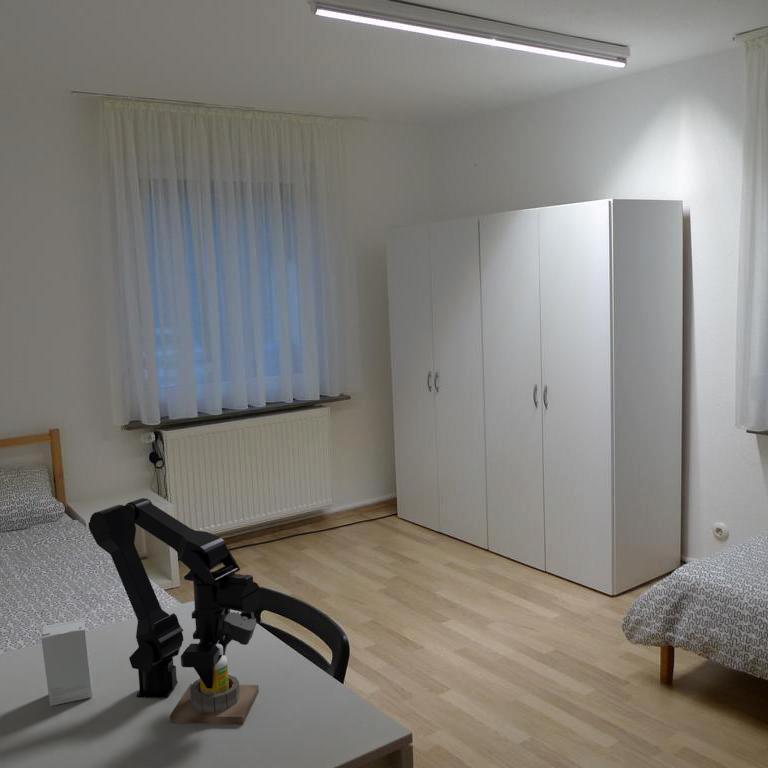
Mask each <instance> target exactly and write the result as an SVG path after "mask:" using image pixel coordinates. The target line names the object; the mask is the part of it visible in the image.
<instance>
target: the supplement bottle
mask: <svg viewBox="0 0 768 768" xmlns="http://www.w3.org/2000/svg"><path fill="white" fill-rule="evenodd" d="M216 646H217V647H218V648H219V655H222V657H221V658H220V660H219V662H218V663H217V664H215V671H214V681H213V687H212V688H206V686H205V685H204V683H203V681H202V680H201V678H200V677H199V679H200V690H201V693H202V694H218V693H222V692H225V691H227V690H228V689H229V681H228V675H229V667H228V658H227V656H226V655H225V656H224V655H223V646H222V645H221V644H217V645H216Z"/></svg>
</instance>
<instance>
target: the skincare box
mask: <svg viewBox="0 0 768 768" xmlns="http://www.w3.org/2000/svg"><path fill="white" fill-rule="evenodd" d="M85 622H86V621H85V618H80V619H75V620H71V621H66V622H60V623H53V624H50V625H48V624H47V625H43V626H42V631H41V632H42V633H41V638H40V640H41V645H42V646H41V647H42V653H43V661H44V662H43V664H44V669H45V670H44V671H45V676H46V683H47V692H48V700H49V706H50V707H52V706H56V705H58V706H59V705H61V704H67V703H72V702H75V701H76V702H77V701H81V700H85V699H90V698H92V697H93V681H92V672H91V671H92V670H91V664H90V654H89V646H88V636H87V629H86V623H85Z"/></svg>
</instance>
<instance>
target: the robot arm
mask: <svg viewBox="0 0 768 768" xmlns="http://www.w3.org/2000/svg"><path fill="white" fill-rule="evenodd" d="M136 525H137V526H138V527H140V528H141V529H142V530H144V531H146V532H147V533H149V534H150V535H151V536H153V537H155V538H156V539H158V540H160V541H161V542H162V543H164V544H166V546H168V547H170V548H172V549H173V550H174V551H175V552H176V553H177V554H178V558H179V560H180V562H181V563H182V564H184V565H185V567H187V569H189V570H190V571H189V572H188V573H187V574H185V575H183V579H184V581H188V582H189V581H190V582H193V600H194V602H193V603H194V604H193V605H194V610H193V611H192V612H191V619H192V620H194V619H195V630H194V632H192V639H193V640H199V642H198V643H190V644H189V645H188V646H187V647H186V649H184V651H183V652H182V654H181V655H180V664H181V665H180V666H181V667H182V668H193V669H194V670H195V672H196V674H197V675H198V677H199V679H200V678H201V680H202V681H203V683H204V685H205V686H206V688H212V687H213V681H214V671H215V664H217V663H218V662H219V660H220V658H221V657H222V655H219V648H218V647H217V646H216V645H217V644H221V645H222V646H223V655H224V656H226V651H227V647H228V644H229V643H231V642H232V641H234V642H237V643H238V644H240V645H243V646H244V645H245V646H246V645H249V643H250V641H251V639H252V638H253V634H254V631H255V629H256V626H257V618H256V617H255V614H254V612H255V611H256V610H257V609H258V607H259V605H260V602H261V600H262V599H261V598H262V597H261V596H262V589H260V585H259V584H258V583H257V582H255V581H254V576H253V575H251V574H240V573H238V572H240V570H241V568H240V566H239V564H238V563H237V561H236V559H235V558H234V556H233V555H232V553H231V551H230V550H229V548H228V547H227V542H225V540H224V539H223V538H222V537H220V536H218V535H216V534H213V533H210V532H208V531H202V530H195V529H193V528H191V527H189V526H187V525H186V524H184V523H182V522H181V521H180V520H179V519H176V518H175V517H173V516H172V515H170V514H168V513H167V512H166V511H164V510H162V509H161V508H159V507H158V506H156V505H155V504H153V502H152V501H151V500H150V499H148V498H145V497H143V498H139V499H138V498H137V499H135V500H132V501H129V502H127V503H126V504H124V505H123V504H117V505H114V506H113V505H112V506H111V507H108V508H104V509H102V510H99V511H95V512H93V514H91V516H90V518H89V522H88V529H89V532H90V534H91V536H92V537H93V539H94V541H95V543H96V544H97V546H98V547H99V548H101V549H102V550H104V551H105V552H106V553H107V554H109V555H110V557H111V560H112V562H113V564H114V566H115V568H116V569H115V570H116V571H117V574H118V576H119V579H120V581H121V583H122V586H123V588H124V591H125V593H126V595H127V598H128V600H129V602H130V605H131V608H132V610H133V612H134V615H135V617H136V620H137V624H136V625H137V626H136V632H135V633H136V634H135V639H136V642H137V646H138V647H137V648H136V649H135V651H134V652H132V654H131V655H130V656H129V658H128V659H129V663H130V665H131V668H132V669H135V670H137V672H138V673H137V674H138V685H139V688H138V689H139V690H138V691H137V693H136V698H147V699H148V698H154V699H155V698H156V699H158V698H159V699H161V698H162V699H163V698H164V699H166V698H169V696H170V695H171V693H172V692H173V690H174V689H175V688H176V687H177V684H178V679H177V666H176V665H174V657H176V656H178V655H179V652H180V650H181V647H182V646H183V641H184V634H183V632H184V629H183V628H182V626H181V624H180V622H179V620H178V616H177V615H176V614H175V613H174V612H173V613H171V614H169V613H168V612H167V611H165V610H163V609H162V606H161V604H160V601H159V600H158V597H157V595H156V592H155V590H154V588H153V586H152V583H151V581H150V578H149V576H148V573H147V571H146V569H145V566H144V564H143V561H142V559H141V557H140V554H139V552H138V550H137V547H136V545H135V541H136V535H137V534H136V533H137V527H136ZM221 565H224V566H223V567H220V568H219V569H216V570H214V571H212V570H213V569H215V568H218V567H219V566H221ZM231 610H232V611H233V612H231ZM234 611H235V612H234Z"/></svg>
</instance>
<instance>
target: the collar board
mask: <svg viewBox="0 0 768 768" xmlns="http://www.w3.org/2000/svg"><path fill="white" fill-rule="evenodd" d="M228 681H229V689H228V690H227V691H225V692H222V693H218V694H202V693H201V690H200V678H199V679H196V680H194V681H193V683H190V684H189V686H188V688H187V689H186V690H185V692H184V693H183V695H182V696H181V698H180V699H179V701H178V703H177V704H176V705H175V707H174V708H173V710H172V711H171V712H170V714H169V722H170V724H193V725H194V724H200V725H207V724H208V725H240V726H241V725H243V726H244V725H245V722H246V720H247V717H248V715H249V713H250V711H251V710H252V707H253V705H254V703H255V701H256V698H257V697H258V694H259V692H260V691H259V690H260V689H259V685H258V684H240V682H239V680H238V678H237V677H236V676H233V675H230V674H228Z"/></svg>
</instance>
